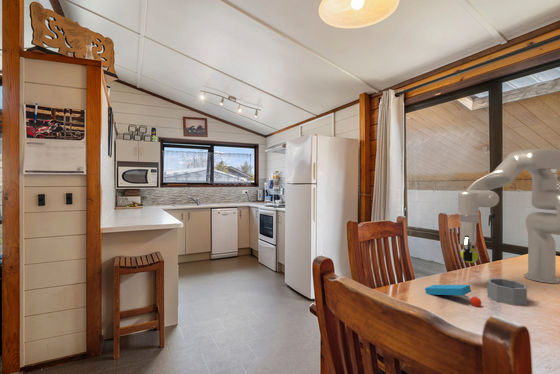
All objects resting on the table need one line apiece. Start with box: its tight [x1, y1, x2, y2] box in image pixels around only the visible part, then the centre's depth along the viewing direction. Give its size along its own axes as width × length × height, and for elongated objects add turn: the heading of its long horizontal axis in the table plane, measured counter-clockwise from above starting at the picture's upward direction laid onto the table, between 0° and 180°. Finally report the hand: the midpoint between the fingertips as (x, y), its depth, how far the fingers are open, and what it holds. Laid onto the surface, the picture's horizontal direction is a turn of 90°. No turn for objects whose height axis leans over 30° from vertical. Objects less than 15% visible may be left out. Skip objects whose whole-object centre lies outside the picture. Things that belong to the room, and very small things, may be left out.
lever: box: [424, 284, 482, 308], centre depth 111 cm, size 7×7×18 cm
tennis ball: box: [460, 247, 479, 264], centre depth 126 cm, size 7×7×7 cm
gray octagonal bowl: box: [487, 278, 528, 306], centre depth 111 cm, size 12×12×6 cm
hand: (469, 258), depth 126 cm, fingers closed on tennis ball, 6 cm apart
